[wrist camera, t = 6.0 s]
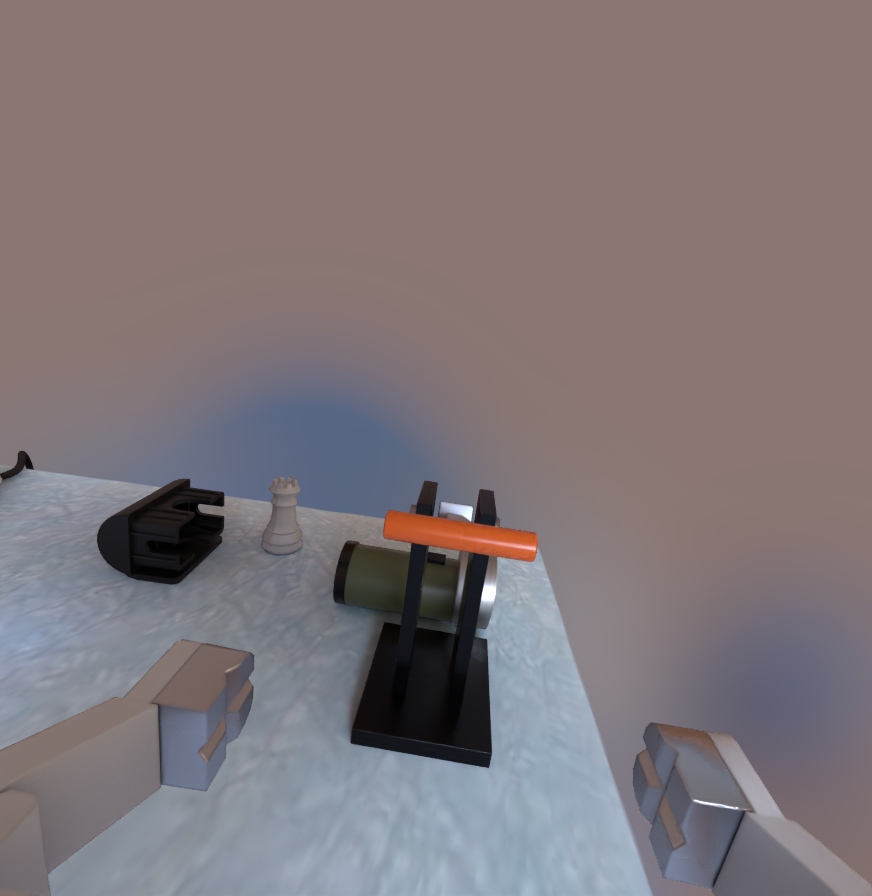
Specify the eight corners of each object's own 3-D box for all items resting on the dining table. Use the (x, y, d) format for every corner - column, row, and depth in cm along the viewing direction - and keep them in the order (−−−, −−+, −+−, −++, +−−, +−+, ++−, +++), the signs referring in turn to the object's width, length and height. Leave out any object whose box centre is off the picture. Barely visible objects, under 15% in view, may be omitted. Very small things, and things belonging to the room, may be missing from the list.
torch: (484, 599, 47) (496, 536, 45) (486, 647, 40) (500, 574, 38) (349, 577, 48) (355, 514, 46) (328, 620, 41) (334, 548, 39)
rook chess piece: (286, 560, 49) (290, 491, 47) (252, 549, 51) (254, 481, 49) (310, 543, 53) (314, 479, 51) (278, 533, 55) (281, 470, 53)
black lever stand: (488, 768, 29) (536, 545, 25) (350, 743, 30) (374, 519, 25) (484, 650, 40) (517, 480, 36) (382, 633, 40) (403, 462, 36)
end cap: (163, 530, 52) (162, 474, 50) (225, 539, 52) (226, 483, 50) (97, 577, 42) (93, 510, 41) (174, 588, 42) (173, 521, 41)
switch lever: (532, 582, 16) (541, 515, 17) (378, 558, 17) (389, 491, 17) (490, 543, 32) (495, 509, 32) (411, 531, 32) (417, 497, 33)
